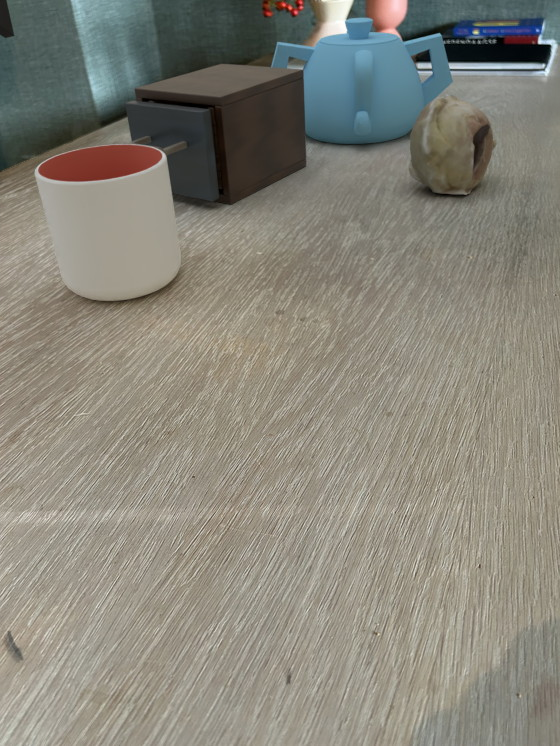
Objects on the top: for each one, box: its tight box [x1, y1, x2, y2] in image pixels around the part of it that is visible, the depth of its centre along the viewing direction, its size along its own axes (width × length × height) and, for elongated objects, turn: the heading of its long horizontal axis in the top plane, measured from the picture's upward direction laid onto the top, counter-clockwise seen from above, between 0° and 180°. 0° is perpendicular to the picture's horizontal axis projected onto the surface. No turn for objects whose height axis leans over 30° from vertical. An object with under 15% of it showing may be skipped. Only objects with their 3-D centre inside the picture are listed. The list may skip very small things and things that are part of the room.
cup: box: [34, 144, 182, 302], centre depth 54 cm, size 10×10×10 cm
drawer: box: [111, 99, 223, 202], centre depth 72 cm, size 19×11×9 cm, turn 145°
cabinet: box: [134, 63, 307, 205], centre depth 76 cm, size 15×12×11 cm
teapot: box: [270, 17, 454, 145], centre depth 90 cm, size 19×19×14 cm
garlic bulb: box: [408, 93, 497, 196], centre depth 70 cm, size 9×8×10 cm
